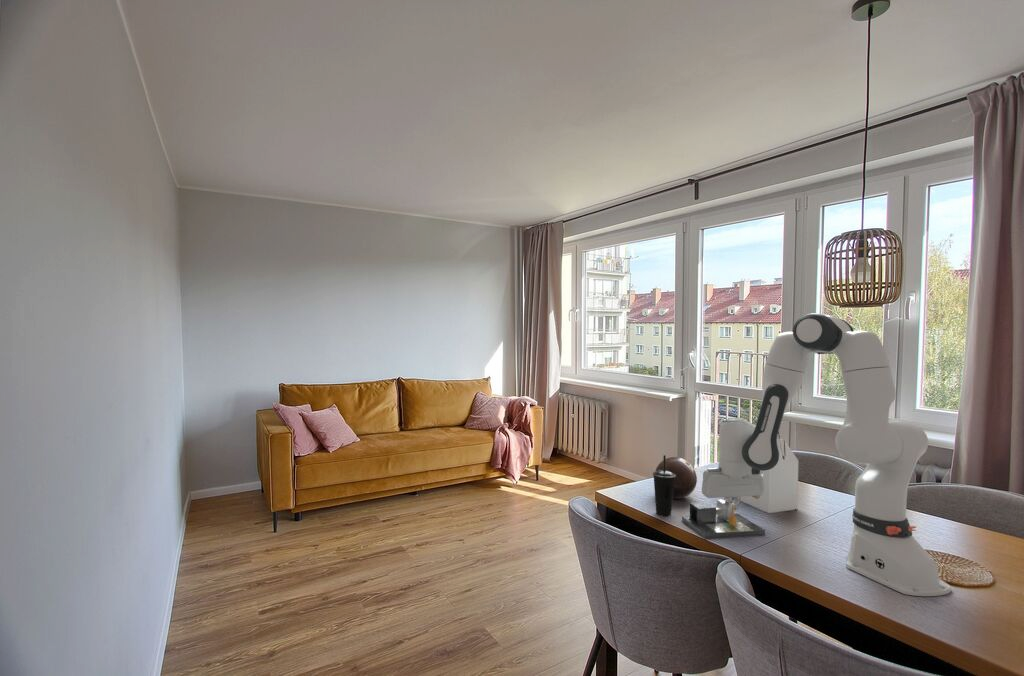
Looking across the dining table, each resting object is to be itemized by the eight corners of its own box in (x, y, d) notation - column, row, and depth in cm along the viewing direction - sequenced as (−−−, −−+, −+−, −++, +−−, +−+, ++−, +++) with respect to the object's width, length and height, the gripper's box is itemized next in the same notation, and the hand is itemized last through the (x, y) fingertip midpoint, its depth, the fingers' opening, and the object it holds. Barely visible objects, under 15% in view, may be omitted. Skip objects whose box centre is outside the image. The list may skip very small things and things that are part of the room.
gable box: (723, 493, 194) (724, 421, 193) (750, 490, 198) (751, 419, 197) (768, 513, 172) (770, 432, 172) (798, 509, 177) (800, 430, 176)
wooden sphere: (697, 506, 179) (698, 464, 179) (653, 501, 183) (654, 460, 183) (695, 493, 193) (696, 454, 193) (655, 489, 198) (655, 451, 197)
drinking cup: (679, 513, 172) (680, 455, 171) (669, 519, 166) (670, 459, 166) (658, 507, 177) (659, 451, 177) (648, 513, 171) (648, 455, 171)
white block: (738, 525, 157) (739, 509, 157) (709, 526, 156) (709, 510, 156) (722, 514, 166) (722, 499, 166) (694, 516, 165) (694, 500, 165)
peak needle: (736, 525, 156) (736, 506, 156) (732, 525, 156) (733, 506, 156) (732, 522, 158) (733, 503, 158) (729, 523, 158) (729, 504, 158)
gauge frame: (764, 534, 155) (765, 514, 154) (704, 538, 151) (705, 517, 151) (737, 517, 168) (737, 498, 168) (681, 520, 165) (682, 501, 165)
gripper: (708, 471, 159) (707, 514, 159) (767, 469, 162) (766, 511, 162) (698, 465, 165) (697, 507, 165) (755, 463, 168) (754, 504, 168)
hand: (732, 509), depth 164 cm, fingers closed
